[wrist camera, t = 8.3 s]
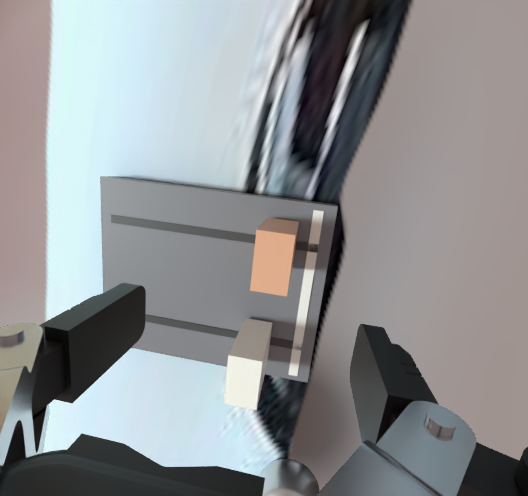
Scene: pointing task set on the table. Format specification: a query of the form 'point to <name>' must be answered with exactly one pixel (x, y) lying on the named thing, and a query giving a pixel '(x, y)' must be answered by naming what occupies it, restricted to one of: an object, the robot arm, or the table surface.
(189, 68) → the table surface
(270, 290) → the block
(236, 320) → the fader panel
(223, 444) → the table surface
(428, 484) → the robot arm
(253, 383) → the cream fader
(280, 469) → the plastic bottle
